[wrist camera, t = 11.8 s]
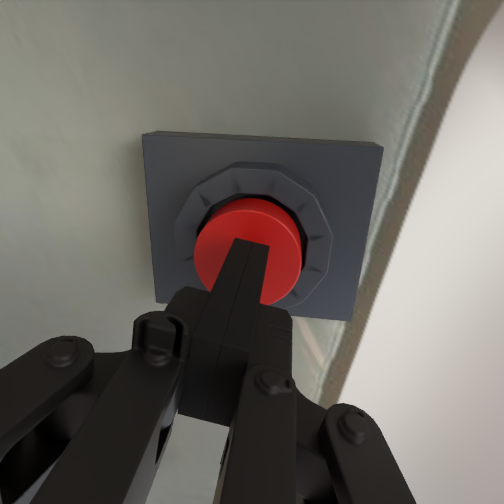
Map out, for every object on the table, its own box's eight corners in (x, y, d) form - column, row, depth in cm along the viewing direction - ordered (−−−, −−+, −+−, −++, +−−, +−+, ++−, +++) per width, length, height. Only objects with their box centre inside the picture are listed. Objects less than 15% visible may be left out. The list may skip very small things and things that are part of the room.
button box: (374, 142, 18) (394, 152, 15) (346, 302, 22) (356, 341, 19) (156, 130, 19) (125, 137, 16) (167, 285, 23) (144, 319, 20)
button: (305, 201, 16) (307, 213, 15) (296, 291, 18) (296, 313, 17) (203, 194, 17) (191, 205, 15) (204, 283, 19) (194, 303, 17)
